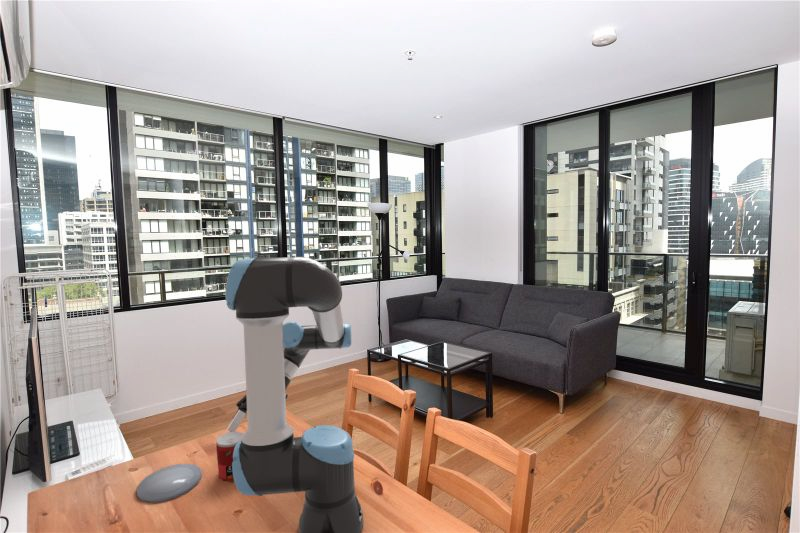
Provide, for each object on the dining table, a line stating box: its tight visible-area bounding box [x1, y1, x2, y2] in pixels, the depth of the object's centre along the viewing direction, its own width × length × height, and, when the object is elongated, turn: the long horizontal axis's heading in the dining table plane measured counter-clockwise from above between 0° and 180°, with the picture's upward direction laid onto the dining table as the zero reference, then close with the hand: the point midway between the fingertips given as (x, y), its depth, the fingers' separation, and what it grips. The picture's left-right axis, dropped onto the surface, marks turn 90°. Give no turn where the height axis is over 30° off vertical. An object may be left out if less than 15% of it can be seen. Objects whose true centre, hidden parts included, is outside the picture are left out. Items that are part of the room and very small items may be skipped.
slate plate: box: [136, 463, 202, 503], centre depth 118 cm, size 16×16×1 cm
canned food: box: [215, 431, 244, 482], centre depth 121 cm, size 8×8×11 cm
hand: (241, 438), depth 125 cm, fingers open, 13 cm apart
